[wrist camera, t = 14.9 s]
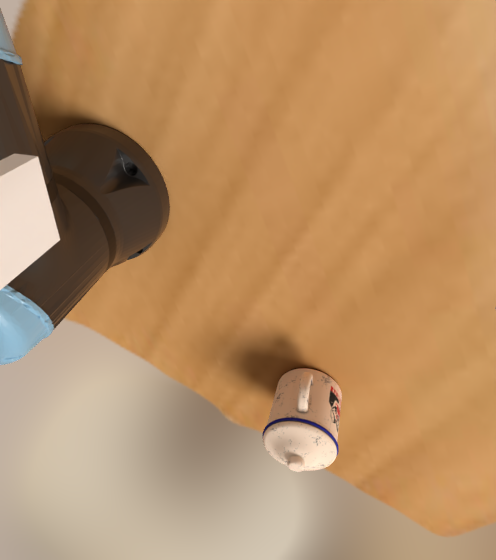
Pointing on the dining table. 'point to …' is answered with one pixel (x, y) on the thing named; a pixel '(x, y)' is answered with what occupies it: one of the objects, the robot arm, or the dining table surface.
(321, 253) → the dining table surface
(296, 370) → the teacup with lid
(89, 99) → the dining table surface
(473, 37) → the dining table surface
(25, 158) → the robot arm
